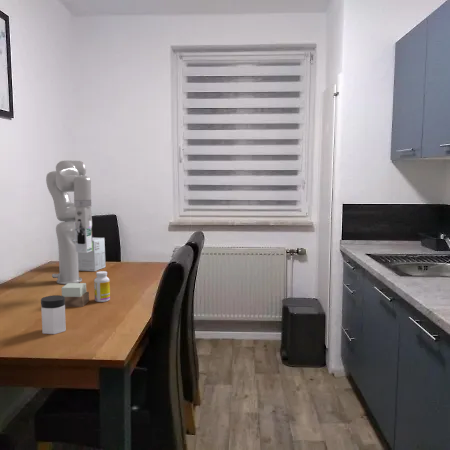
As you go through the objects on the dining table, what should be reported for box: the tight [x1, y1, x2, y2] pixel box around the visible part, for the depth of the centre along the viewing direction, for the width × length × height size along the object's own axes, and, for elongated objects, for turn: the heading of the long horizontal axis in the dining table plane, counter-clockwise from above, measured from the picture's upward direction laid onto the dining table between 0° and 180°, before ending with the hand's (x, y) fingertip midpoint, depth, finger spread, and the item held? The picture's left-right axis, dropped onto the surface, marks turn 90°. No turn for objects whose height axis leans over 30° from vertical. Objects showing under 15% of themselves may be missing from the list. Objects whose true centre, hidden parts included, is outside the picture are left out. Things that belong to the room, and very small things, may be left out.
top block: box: [61, 282, 87, 297], centre depth 200 cm, size 8×8×4 cm
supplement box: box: [72, 237, 106, 272], centre depth 272 cm, size 17×13×18 cm
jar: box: [40, 294, 67, 335], centre depth 166 cm, size 9×8×12 cm
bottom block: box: [65, 291, 90, 308], centre depth 200 cm, size 9×9×4 cm
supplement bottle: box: [93, 270, 111, 303], centre depth 205 cm, size 7×7×13 cm
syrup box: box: [74, 220, 93, 253], centre depth 211 cm, size 6×6×14 cm
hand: (83, 242), depth 212 cm, fingers closed on syrup box, 6 cm apart
